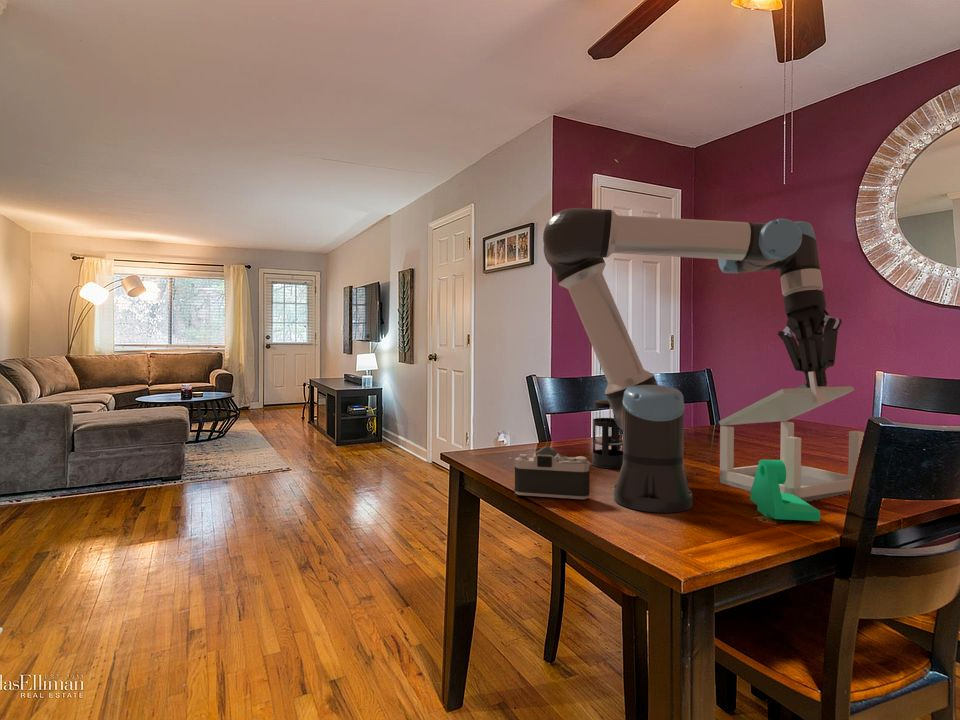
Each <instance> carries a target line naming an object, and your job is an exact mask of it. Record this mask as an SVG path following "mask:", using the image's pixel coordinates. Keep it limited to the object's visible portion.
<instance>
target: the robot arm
mask: <svg viewBox="0 0 960 720" xmlns="http://www.w3.org/2000/svg"><path fill="white" fill-rule="evenodd" d="M815 233H816V232H815V231H814V227H813V225H812V224H811V223H810V222H807V221H801V220H799V221H793V220H791V219H788V218H776V219H773V220H769V221H768V222H750V221H749V222H746V221H730V220H729V221H728V220H714V219H713V220H710V219H708V220H707V219H692V218H672V217H655V216H653V217H652V216H636V215H621V214H620V215H618V214H617V213H616V212H615V211H614V210H613V209H604V208H590V207H589V208H588V207H587V208H586V207H571V208H565V209H562V210H560V211H558V212H556V213H555V214H553V215H552V216H551V217H550V218H549V220H548V221H547V223H546V224H545V227H544V231H543V234H542V235H543V240H542V241H543V253H544V254H543V255H544V257H545V260H546V262H547V263H548V265H549V266H550V268H551V270H552V273H553V274H554V277H555V279H556V282H557V283H558V286H560V287H562V288H565V289H567V290H568V294H570V297H571V300H572V302H573V305H574V307H575V310H576V311H577V314H578V317H579V318H580V320H581V323H582V325H583V327H584V330H585V333H586V335H587V337H588V339H589V342H590V344H591V347H592V349H593V352H594V353H595V357H596V358H597V360H598V363H599V365H600V368H601V370H602V372H603V374H604V377H605V379H607V381H606V382H607V386H606V388H605V391H604V393H605V396H606V398H607V399H606V400H608V401H609V403H610V406H611V412H612V414H613V418H614V420H615V422H616V424H617V425H618V427H619V428H620V431H622V433H623V434H622V440H623V445H622V449H623V450H622V451H623V464H622V467H621V468H620V471H619V473H618V477H617V480H616V484H615V485H614V489H613V499H614V501H615V503H617V504H619V505H621V506H622V507H625V508H629V509H632V510H635V511H637V510H638V511H641V512H649V513H661V514H663V513H664V514H665V513H666V514H668V513H673V514H674V513H682V512H685V511H688V510H690V509H691V508H692V507H693V493H692V490H691V489H690V485H689V482H688V478H687V474H686V470H685V468H684V437H685V436H684V435H685V434H684V433H685V431H684V430H685V429H684V427H685V426H684V425H685V424H684V422H685V419H684V418H685V416H684V415H685V409H686V406H685V401H684V400H685V399H684V395H683V393H682V391H680V390H679V389H678V388H674V387H670V386H665V385H659V384H658V382H657V379H656V377H655V375H654V373H653V372H651V371H648V370H646V369H644V367H643V364H642V362H641V360H640V357H639V355H638V352H637V350H636V348H635V346H634V343H633V341H632V339H631V336H630V334H629V332H628V330H627V327H626V325H625V322H624V321H623V318H622V316H621V314H620V311H619V309H618V307H617V304H616V302H615V299H614V297H613V295H612V293H611V289H610V288H609V286H608V283H607V281H606V279H605V276H604V270H605V268H606V265H607V264H606V262H605V261H606V260H605V259H604V258H606V259H607V258H609V257H610V256H611V255H613V254H624V255H641V256H658V257H660V256H661V257H673V258H674V257H676V258H693V259H710V260H717V264H718V267H719V269H720V271H721V273H724V274H736V275H739V274H743V273H754V272H755V273H756V272H763V271H765V272H766V271H777V270H778V271H779V278H780V285H781V286H780V287H781V294H782V296H784V297H783V298H782V299H783V300H782V301H783V306H784V312H785V314H786V316H787V319H786V320H787V321H786V326H785V328H784V329H783V330H779V331H778V332H777V336H778V337H779V338H780V339H781V340H782V342H783V344H784V346H785V349H786V351H787V354H788V356H789V358H790V361H791V364H792V365H793V369H794V370H795V371H796V372H797V371H798V372H802V373H804V375H805V382H806V383H805V384H807V387H808V388H811V394H812V401H813V403H825V404H827V403H826V396H825V390H824V386H825V387H828V386H827V385H828V380H827V373H826V370H827V369H829V368H831V367H833V366H835V362H836V353H837V352H836V351H837V342H838V334H839V333H838V331H839V329H840V327H841V325H842V323H843V321H842V319H841V318H839V317H838V318H837V317H833V316H830V314H829V312H828V311H827V310H826V308H827V302H826V296H825V292H824V291H823V288H824V283H823V279H822V278H823V277H822V272H821V266H820V260H819V259H820V258H819V252H818V245H817V244H818V241H817V238H816V234H815Z"/></svg>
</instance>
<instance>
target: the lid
mask: <svg viewBox="0 0 960 720" xmlns="http://www.w3.org/2000/svg"><path fill="white" fill-rule="evenodd" d="M824 390H825V396H826V403H813V401H812V394H811V388H808V387H807V383H802V384H801V385H798V386H797V387H796V388H795V387H793V388H792V387H791V388H781V389H779V390H777V391H775V392H773V393H772V394H769V395H768V396H766V397H764V398H762V399H760V400H758V401H756V402H754V403H752V404H750V405H748V406H746V407H744V408H743V409H740V410H738V411H736V412H734V413H732V414H731V415H728V416H727V417H724V418H722V419H720V420H719V421H718V423H719V426H733V425H744V424H745V425H747V424H758V423H759V424H761V423H772V422H773V423H774V422H788V421H789V420H791V419H793V418H796V417H798V416H800V415H803V414H806V413H807V412H809V411H812V410H814V409H816V408H819V407H820V406H823V405H825V404H827V403H829V402H832V401H833V400H836V399H839V398H841V397H843V396H845V395H847V394H851V392H854V391H855V388H854V387H853V385H852V386H851V385H850V386H849V385H848V386H824Z"/></svg>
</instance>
